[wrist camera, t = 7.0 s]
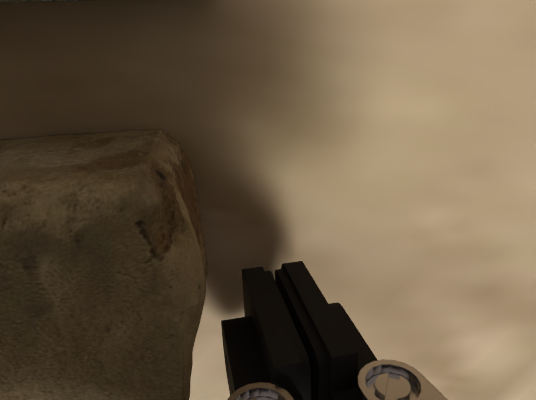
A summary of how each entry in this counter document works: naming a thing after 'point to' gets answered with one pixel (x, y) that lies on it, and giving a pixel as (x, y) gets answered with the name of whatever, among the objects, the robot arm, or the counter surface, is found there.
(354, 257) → the counter surface
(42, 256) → the stone block
